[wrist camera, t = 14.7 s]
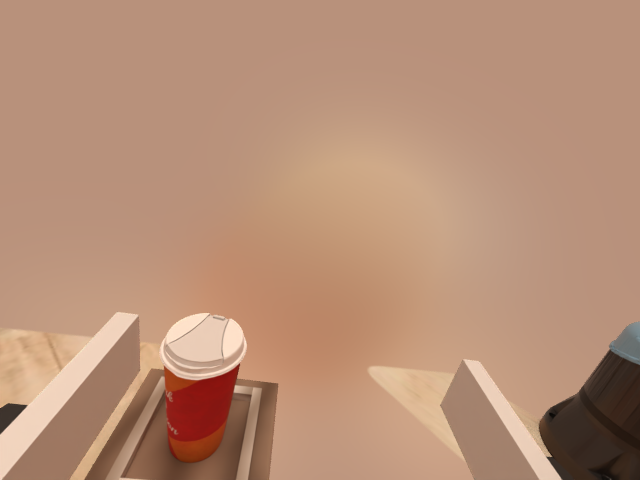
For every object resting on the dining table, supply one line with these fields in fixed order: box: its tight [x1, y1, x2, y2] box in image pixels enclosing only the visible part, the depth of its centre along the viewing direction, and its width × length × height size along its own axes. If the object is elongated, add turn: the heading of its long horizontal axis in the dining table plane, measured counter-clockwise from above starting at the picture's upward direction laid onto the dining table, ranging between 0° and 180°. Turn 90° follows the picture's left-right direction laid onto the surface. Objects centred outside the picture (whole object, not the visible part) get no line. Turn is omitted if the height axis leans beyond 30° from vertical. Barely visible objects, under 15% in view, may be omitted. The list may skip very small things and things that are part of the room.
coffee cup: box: [160, 313, 247, 463], centre depth 33 cm, size 8×8×15 cm
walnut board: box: [84, 369, 278, 480], centre depth 36 cm, size 18×18×2 cm
